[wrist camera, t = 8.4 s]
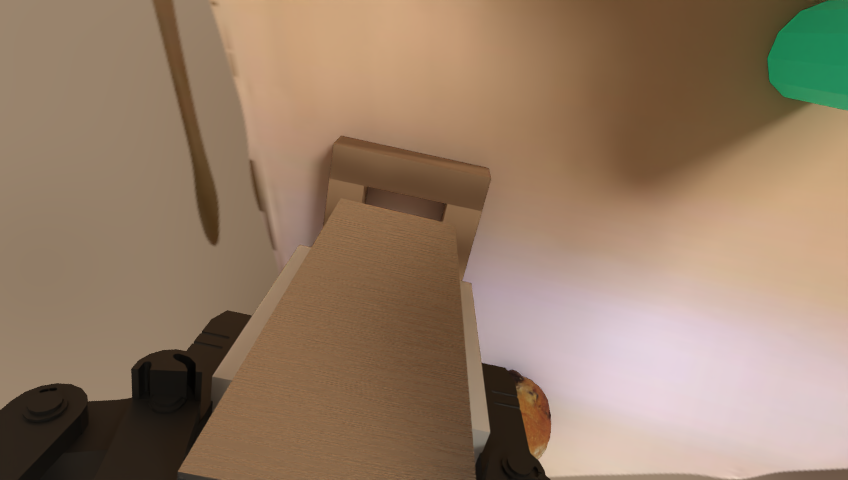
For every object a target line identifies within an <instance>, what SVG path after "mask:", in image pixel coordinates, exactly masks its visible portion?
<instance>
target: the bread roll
mask: <svg viewBox="0 0 848 480" xmlns="http://www.w3.org/2000/svg"><path fill="white" fill-rule="evenodd" d="M508 373H509V374H510V376H511V377H512V378H513V380H514V381H515V385H516V390H517V395H518V396H517V398H518V399H519V404H520V410H521V413H522V418H523V422H524V427H525V432H526V436H527V441H528V446H529V450H530V453H531V454H532V455H533V456H534V457H535V458H536V459H537V460H538V459H539V458H540V457H541V456H542V454H543V453H544V451H545V450H546V448H547V444H548V441H549V439H550V433H551V414H550V410H549V405H548V400H547V398H546V396H545V394H544V392H543V391H542V390H541V388H540V387H539V386H538V385H536V384H535V383H534V382H533V381H532V380H530V379H528V378H526V377H523V376H521V374H519V373H518V372H517V371H514V370H510V371H508Z"/></svg>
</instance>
